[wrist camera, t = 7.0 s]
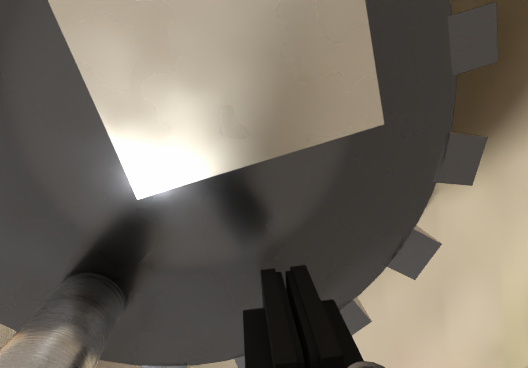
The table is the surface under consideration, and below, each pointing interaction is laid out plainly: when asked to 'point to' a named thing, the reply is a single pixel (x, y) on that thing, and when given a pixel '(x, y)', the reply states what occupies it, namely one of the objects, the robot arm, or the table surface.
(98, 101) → the sprocket
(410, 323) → the table surface
